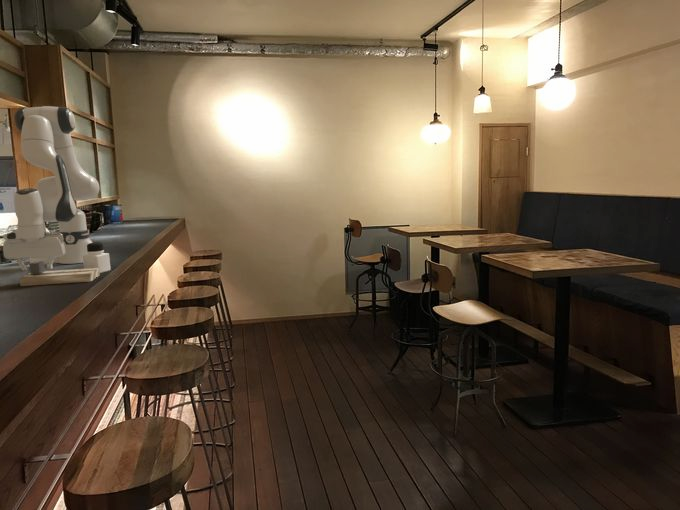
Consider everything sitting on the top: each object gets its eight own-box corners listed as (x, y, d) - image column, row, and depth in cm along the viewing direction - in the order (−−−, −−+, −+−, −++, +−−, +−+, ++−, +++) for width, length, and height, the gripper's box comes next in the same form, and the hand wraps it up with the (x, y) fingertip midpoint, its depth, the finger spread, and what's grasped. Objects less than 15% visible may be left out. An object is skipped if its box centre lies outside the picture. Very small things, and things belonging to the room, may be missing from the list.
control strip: (34, 279, 197) (33, 271, 196) (100, 275, 201) (99, 267, 200) (20, 286, 185) (19, 277, 184) (90, 281, 189) (89, 273, 188)
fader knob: (36, 271, 193) (34, 261, 192) (44, 271, 194) (43, 260, 193) (30, 274, 188) (29, 263, 187) (39, 273, 189) (38, 263, 188)
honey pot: (23, 263, 234) (17, 224, 231) (46, 258, 246) (41, 221, 243) (45, 264, 230) (39, 224, 227) (67, 259, 242) (62, 221, 239)
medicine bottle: (111, 270, 210) (108, 241, 208) (98, 273, 204) (95, 244, 201) (96, 269, 212) (93, 241, 210) (84, 273, 205) (80, 243, 203)
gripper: (65, 230, 193) (70, 266, 195) (6, 233, 190) (12, 269, 192) (59, 232, 187) (64, 269, 189) (-2, 235, 184) (4, 272, 186)
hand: (37, 269), depth 191 cm, fingers open, 7 cm apart
